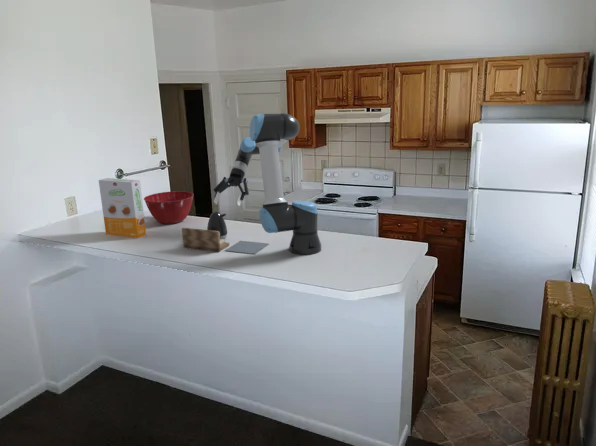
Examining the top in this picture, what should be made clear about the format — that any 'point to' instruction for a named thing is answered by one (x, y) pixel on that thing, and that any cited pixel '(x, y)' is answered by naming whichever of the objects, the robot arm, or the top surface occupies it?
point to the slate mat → (247, 247)
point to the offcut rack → (203, 240)
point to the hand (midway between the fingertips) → (226, 204)
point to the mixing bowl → (169, 206)
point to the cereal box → (122, 207)
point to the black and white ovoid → (217, 224)
